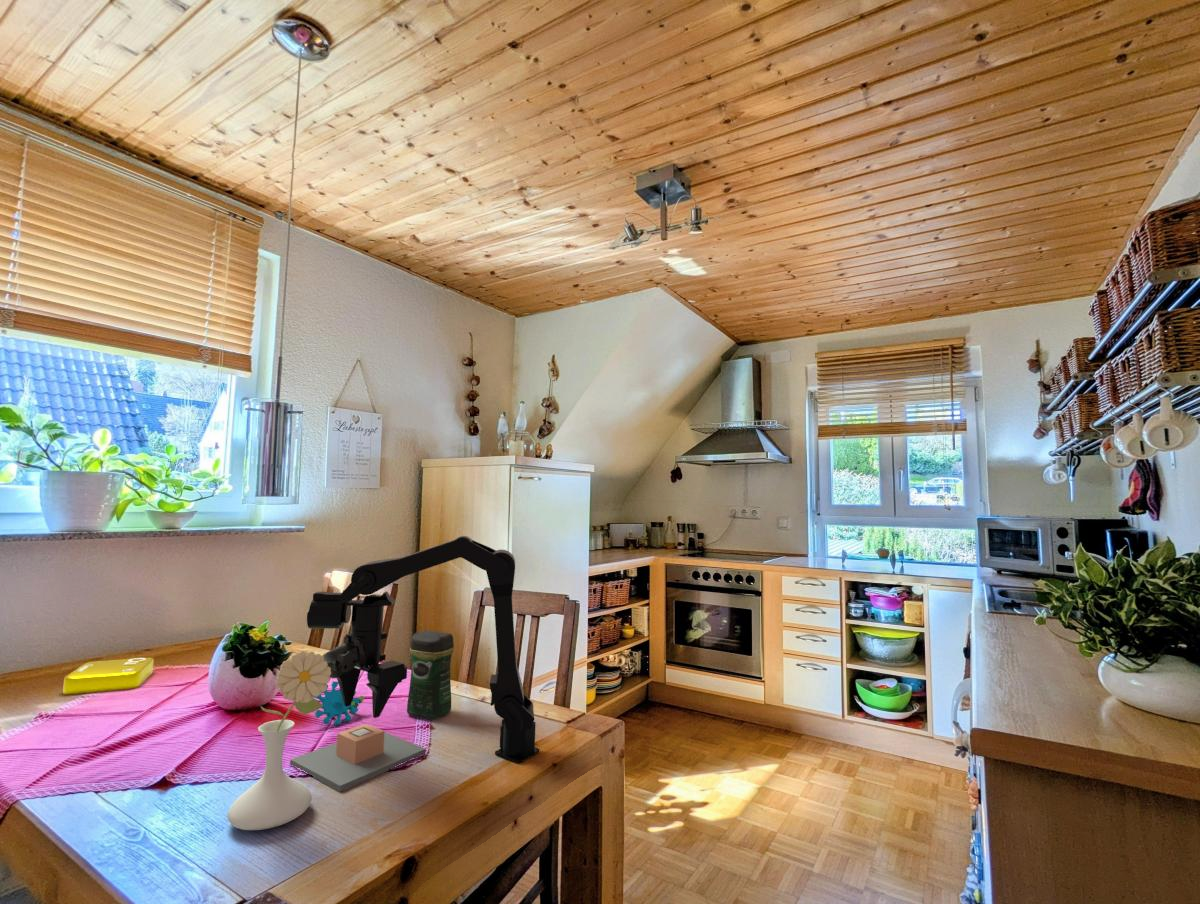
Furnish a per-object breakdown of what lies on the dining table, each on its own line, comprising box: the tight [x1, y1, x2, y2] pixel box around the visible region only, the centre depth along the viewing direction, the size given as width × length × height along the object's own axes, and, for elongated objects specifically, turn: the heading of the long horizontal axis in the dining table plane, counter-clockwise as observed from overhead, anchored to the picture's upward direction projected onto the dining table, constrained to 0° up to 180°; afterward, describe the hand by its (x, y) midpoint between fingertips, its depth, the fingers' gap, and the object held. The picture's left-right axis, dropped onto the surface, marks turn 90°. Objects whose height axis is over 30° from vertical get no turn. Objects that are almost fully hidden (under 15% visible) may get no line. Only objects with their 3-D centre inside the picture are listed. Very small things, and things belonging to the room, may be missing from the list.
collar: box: [336, 723, 386, 764], centre depth 109 cm, size 6×6×4 cm
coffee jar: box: [406, 630, 455, 720], centre depth 133 cm, size 10×8×19 cm
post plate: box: [289, 729, 427, 793], centre depth 109 cm, size 16×18×5 cm
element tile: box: [62, 657, 155, 695], centre depth 147 cm, size 15×15×5 cm
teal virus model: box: [314, 681, 365, 726], centre depth 128 cm, size 11×6×10 cm
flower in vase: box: [226, 650, 331, 831], centre depth 90 cm, size 13×11×25 cm
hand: (361, 711), depth 109 cm, fingers open, 9 cm apart
